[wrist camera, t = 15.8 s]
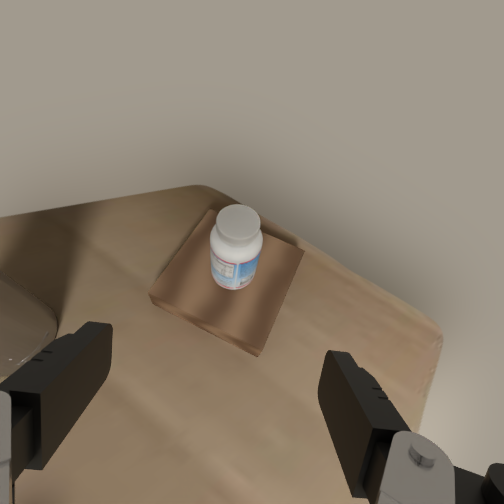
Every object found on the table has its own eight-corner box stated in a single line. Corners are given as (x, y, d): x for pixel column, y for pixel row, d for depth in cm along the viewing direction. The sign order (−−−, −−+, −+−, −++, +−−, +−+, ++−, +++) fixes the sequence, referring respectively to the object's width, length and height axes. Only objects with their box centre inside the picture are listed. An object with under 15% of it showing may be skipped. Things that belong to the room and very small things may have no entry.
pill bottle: (250, 250, 41) (262, 197, 31) (258, 288, 38) (273, 243, 28) (208, 253, 40) (207, 199, 30) (212, 293, 37) (212, 247, 27)
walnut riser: (153, 304, 39) (147, 292, 36) (210, 224, 47) (210, 208, 44) (257, 357, 37) (262, 350, 34) (297, 264, 45) (304, 250, 42)
